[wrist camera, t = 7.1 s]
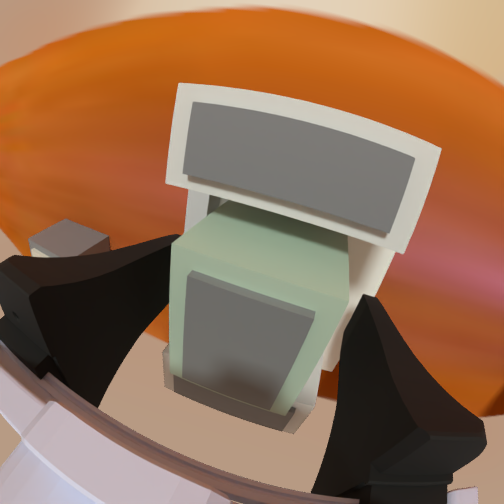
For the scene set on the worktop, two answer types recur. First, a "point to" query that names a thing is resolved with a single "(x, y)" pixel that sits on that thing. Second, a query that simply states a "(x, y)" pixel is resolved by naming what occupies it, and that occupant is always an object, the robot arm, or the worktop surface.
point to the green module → (254, 303)
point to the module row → (298, 194)
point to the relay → (68, 241)
